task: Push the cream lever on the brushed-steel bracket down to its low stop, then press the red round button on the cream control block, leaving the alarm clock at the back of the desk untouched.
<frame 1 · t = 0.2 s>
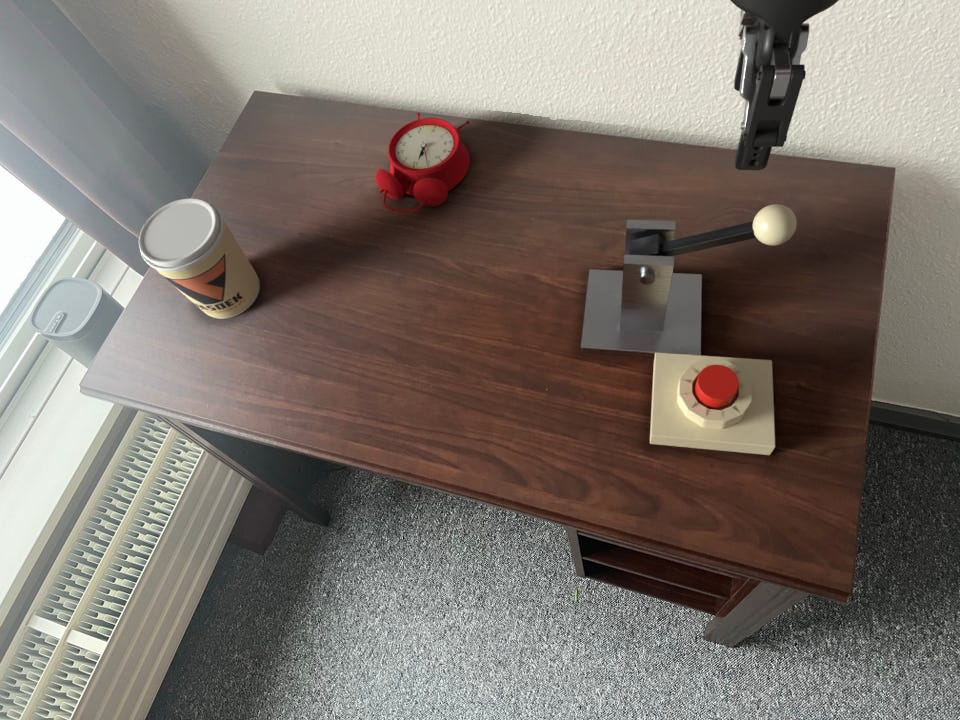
hand: (748, 125, 53), 23 cm above the table, tool pointing down, fingers open, 8 cm apart
button: (716, 386, 63), point 5 cm above the table, slide at 0.1 cm
cream tin can: (230, 293, 83), on the table
alarm clock: (426, 178, 87), on the table
lever: (710, 239, 60), point 13 cm above the table, hinge at 25.0°
control block: (709, 406, 67), on the table
bracket: (641, 316, 72), on the table
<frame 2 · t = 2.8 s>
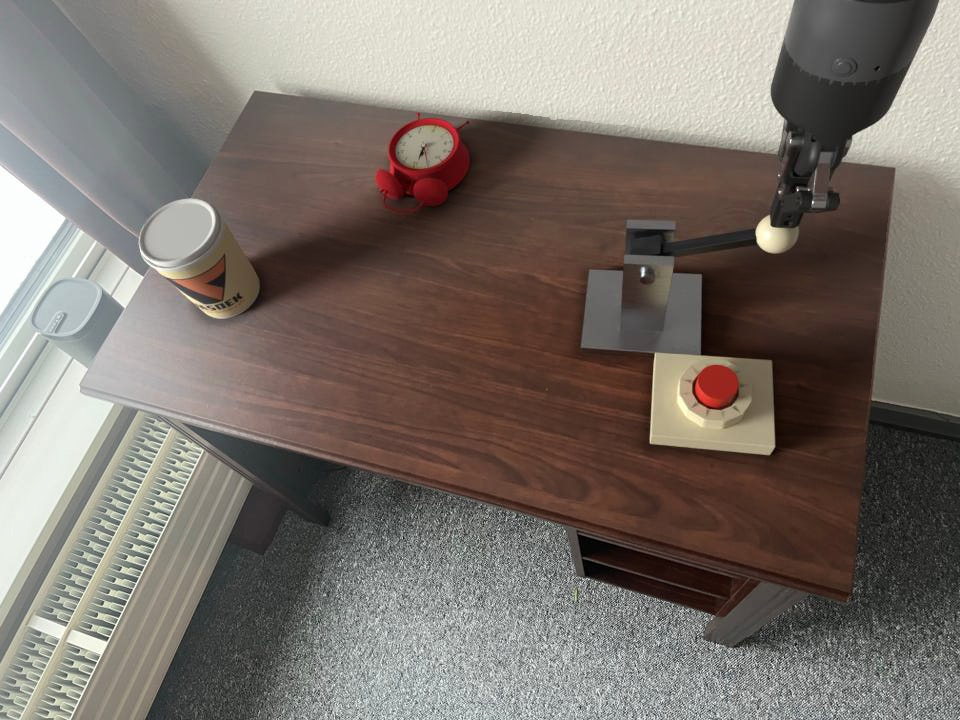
hand: (783, 220, 56), 16 cm above the table, tool pointing down, fingers closed
lever: (711, 243, 60), point 13 cm above the table, hinge at 18.9°, touching gripper
everything else where it was.
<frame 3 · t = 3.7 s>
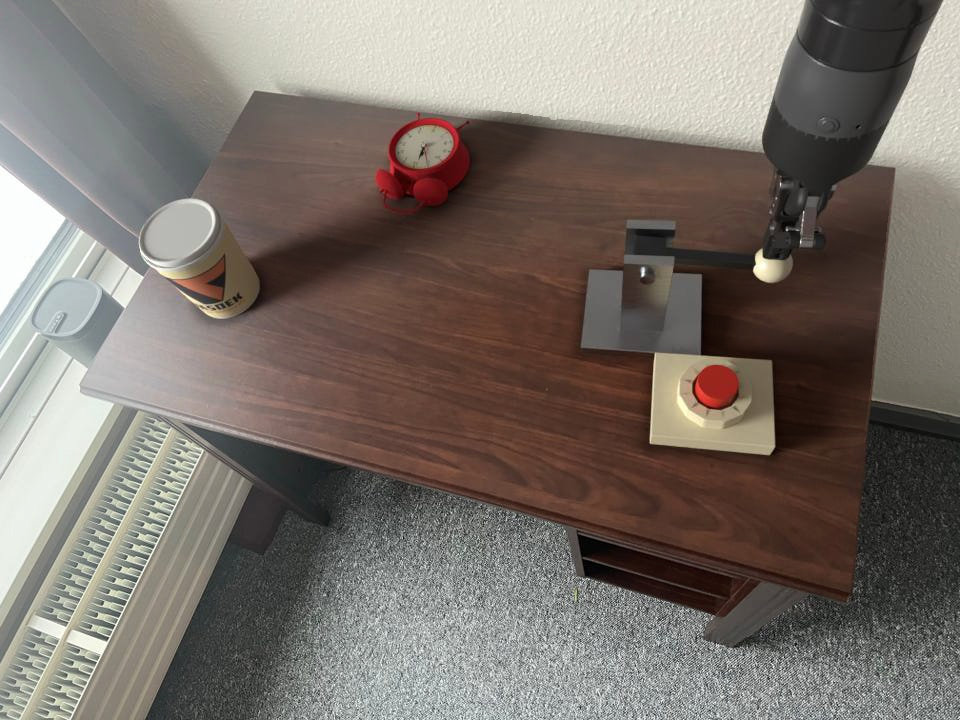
hand: (774, 252, 60), 12 cm above the table, tool pointing down, fingers closed
lever: (711, 258, 62), point 11 cm above the table, hinge at -4.2°, touching gripper
everything else where it was.
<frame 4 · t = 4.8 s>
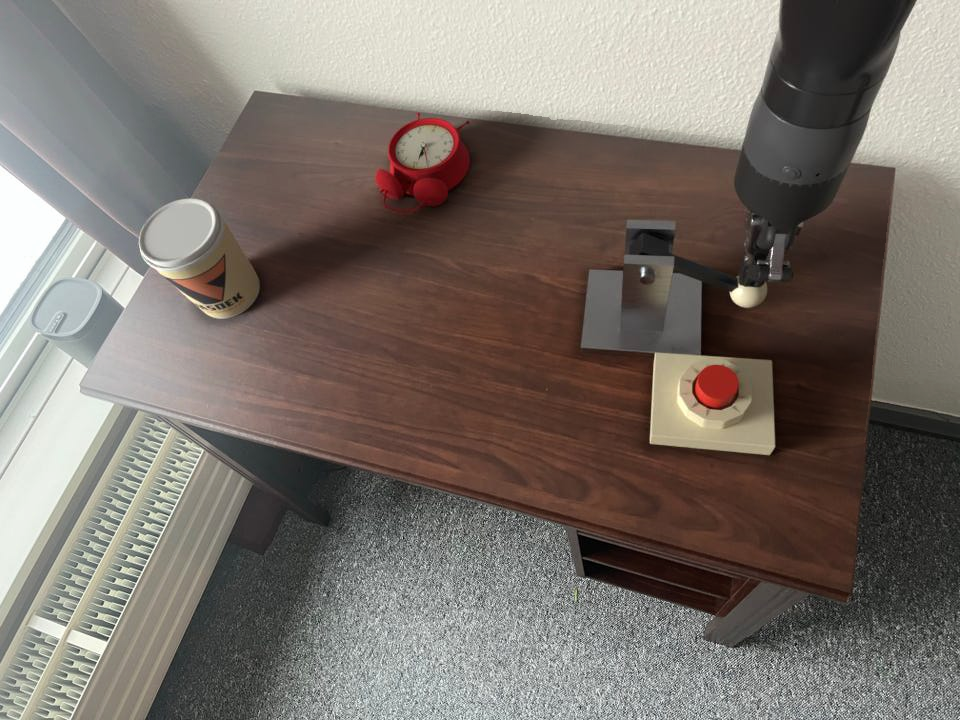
hand: (750, 279, 64), 8 cm above the table, tool pointing down, fingers closed
lever: (700, 272, 64), point 8 cm above the table, hinge at -27.8°, touching gripper
everything else where it was.
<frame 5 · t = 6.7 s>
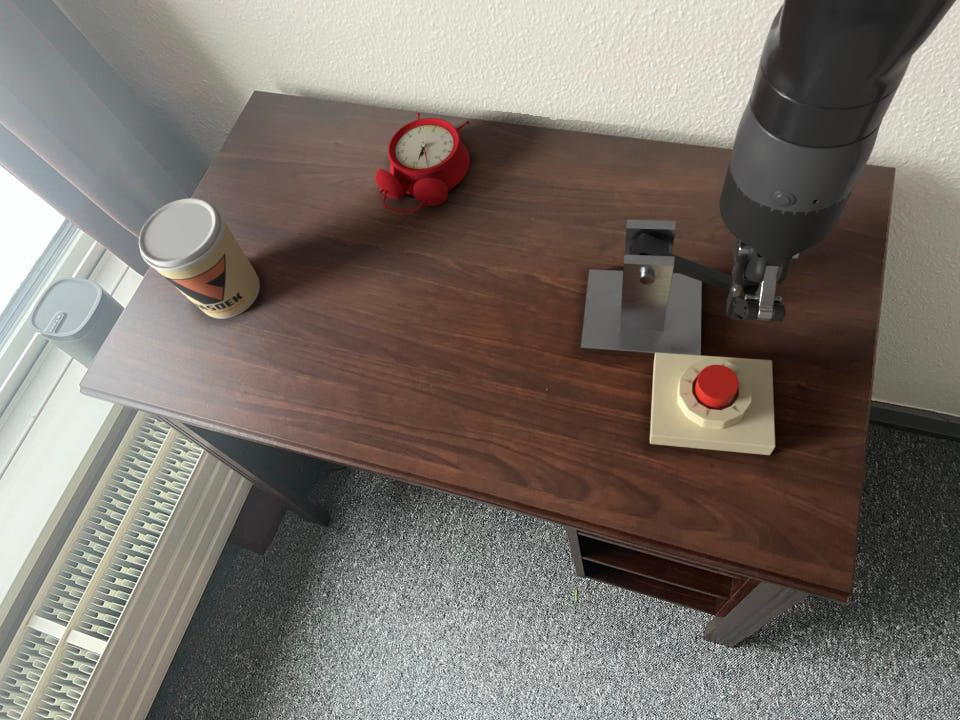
hand: (739, 311, 57), 13 cm above the table, tool pointing down, fingers closed
lever: (700, 272, 64), point 8 cm above the table, hinge at -28.0°
everything else where it was.
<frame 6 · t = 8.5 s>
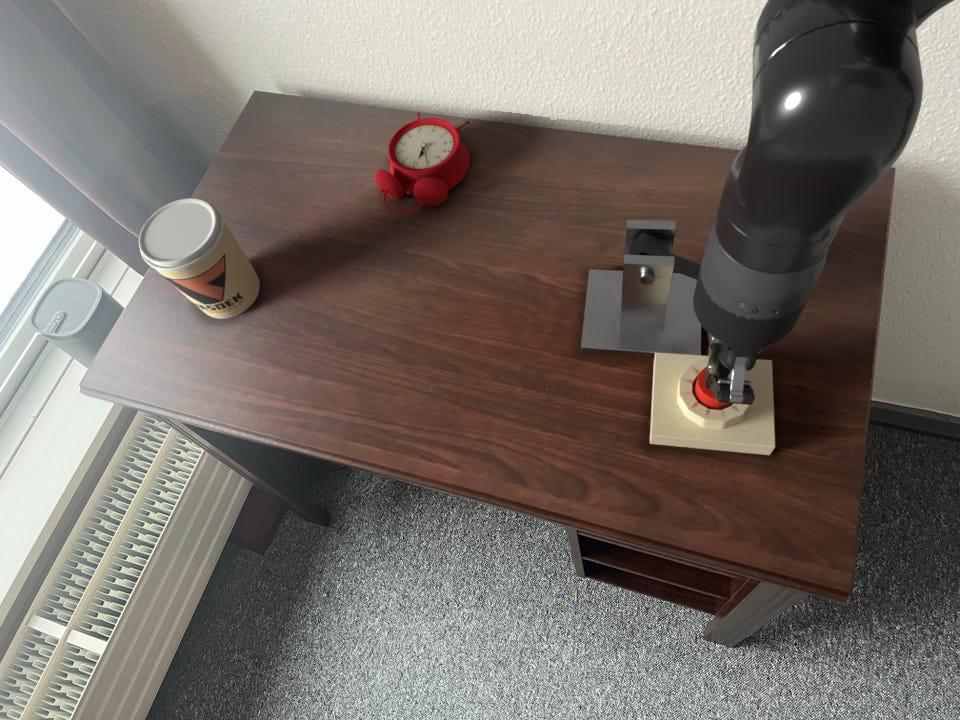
hand: (716, 381, 62), 6 cm above the table, tool pointing down, fingers closed
button: (716, 386, 63), point 5 cm above the table, slide at 0.1 cm, touching gripper
everything else where it was.
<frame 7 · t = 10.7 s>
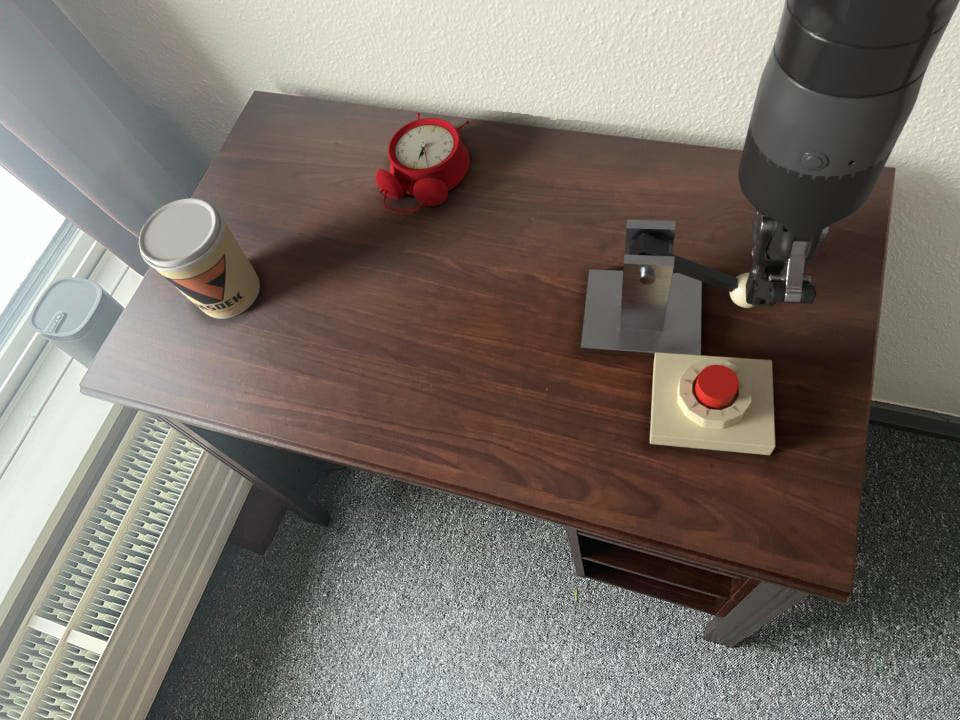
hand: (759, 296, 52), 17 cm above the table, tool pointing down, fingers closed
button: (716, 386, 63), point 5 cm above the table, slide at 0.1 cm
everything else where it was.
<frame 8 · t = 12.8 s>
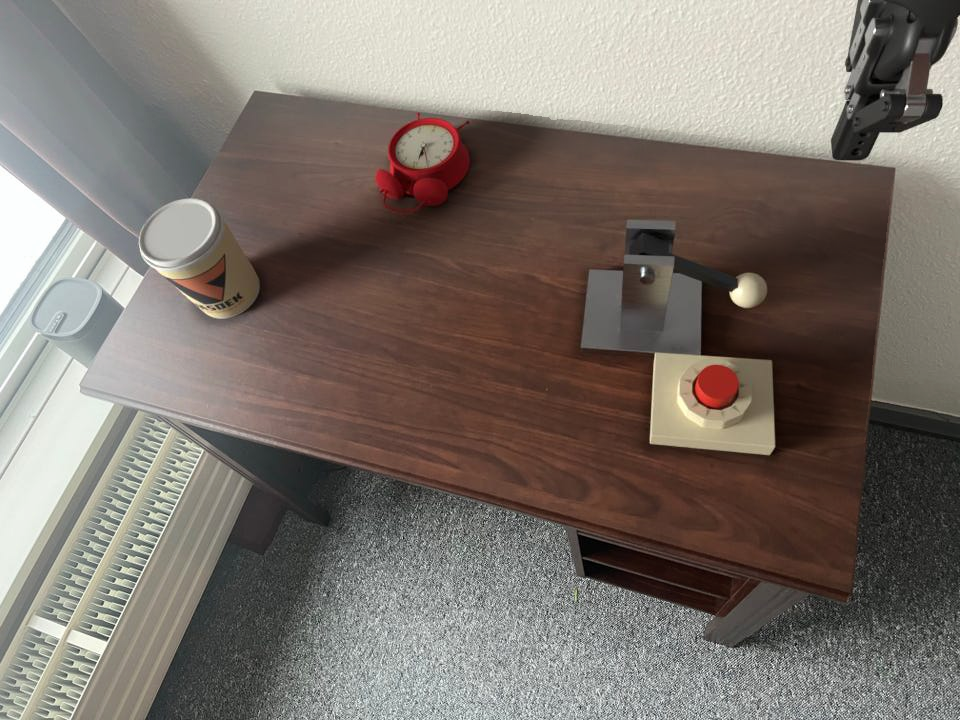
hand: (847, 151, 45), 27 cm above the table, tool pointing down, fingers closed
nothing on the table moved.
at the end: lever at -28° (first picture: +25°); button pushed in 1.1 cm at the most during the clip, back to where it started at the end; alarm clock moved 0.2 cm from its start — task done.
